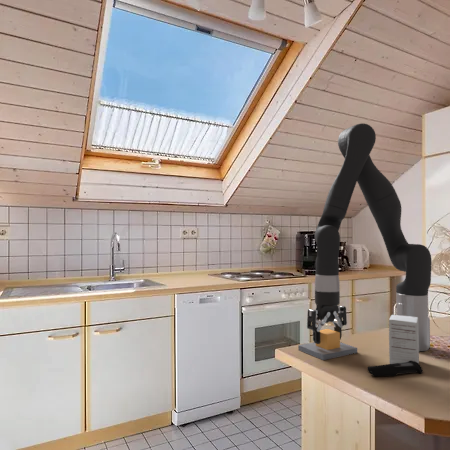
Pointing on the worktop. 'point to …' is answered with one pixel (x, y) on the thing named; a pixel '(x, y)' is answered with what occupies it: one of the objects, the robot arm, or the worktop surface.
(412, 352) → the supplement box
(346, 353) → the plate
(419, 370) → the electric trimmer
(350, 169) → the robot arm
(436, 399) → the worktop surface
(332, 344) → the orange rounded cube
